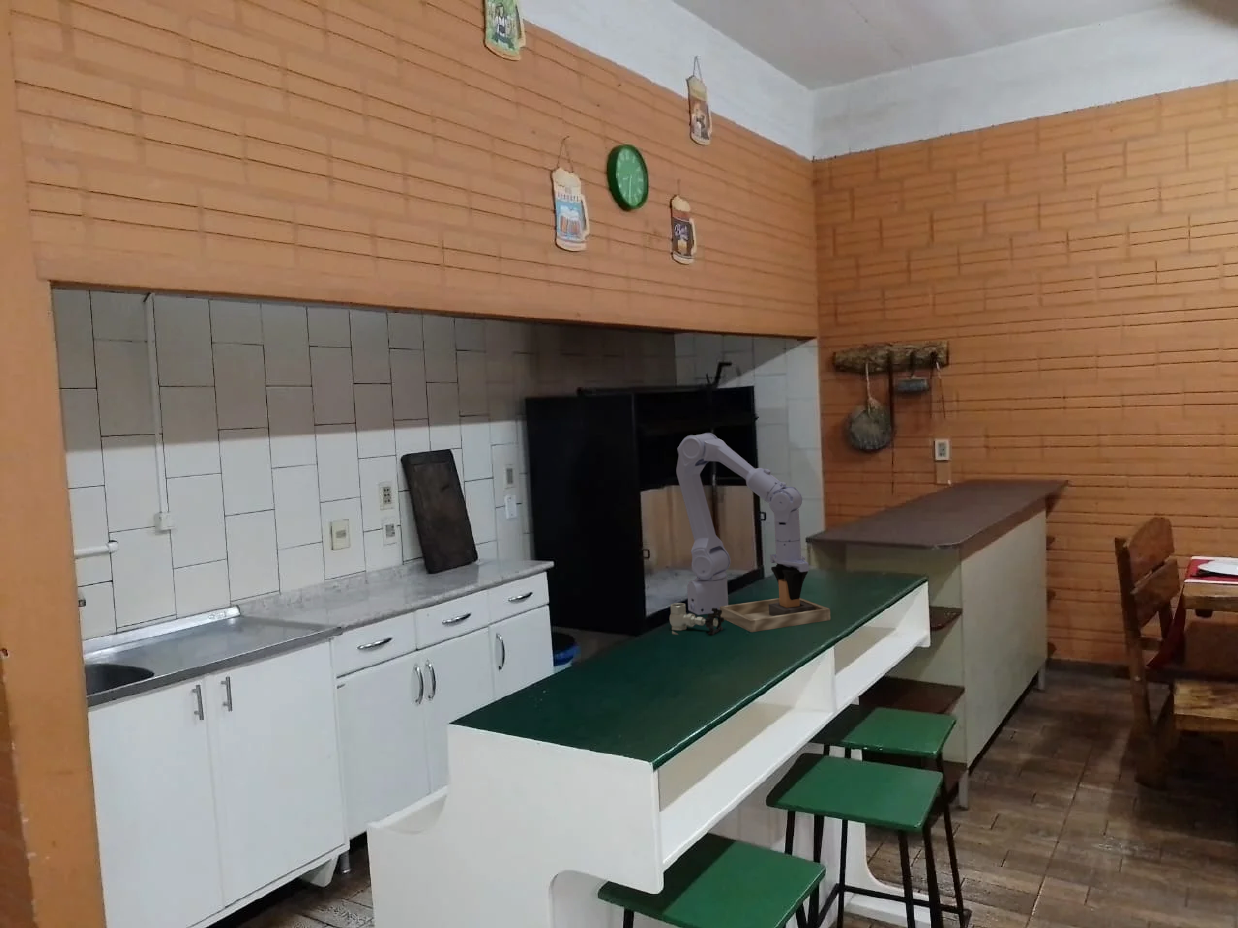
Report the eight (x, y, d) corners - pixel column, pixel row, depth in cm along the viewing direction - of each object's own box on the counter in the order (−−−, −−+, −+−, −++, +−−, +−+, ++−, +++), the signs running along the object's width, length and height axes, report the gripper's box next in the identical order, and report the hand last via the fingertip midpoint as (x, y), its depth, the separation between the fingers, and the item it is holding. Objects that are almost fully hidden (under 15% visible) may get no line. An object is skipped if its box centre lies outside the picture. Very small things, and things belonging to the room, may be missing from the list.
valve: (664, 635, 210) (710, 641, 203) (662, 607, 210) (709, 611, 203) (679, 628, 215) (725, 633, 209) (677, 600, 215) (723, 604, 208)
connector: (786, 607, 214) (785, 577, 214) (779, 604, 217) (778, 574, 217) (799, 605, 215) (798, 575, 215) (792, 603, 219) (790, 572, 218)
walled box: (751, 636, 205) (750, 620, 204) (720, 621, 220) (719, 606, 219) (830, 623, 211) (829, 608, 211) (795, 609, 226) (794, 595, 226)
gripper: (819, 541, 210) (822, 601, 211) (787, 534, 224) (790, 589, 225) (791, 545, 208) (794, 605, 209) (761, 537, 221) (764, 593, 222)
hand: (790, 597), depth 216 cm, fingers closed on connector, 3 cm apart
